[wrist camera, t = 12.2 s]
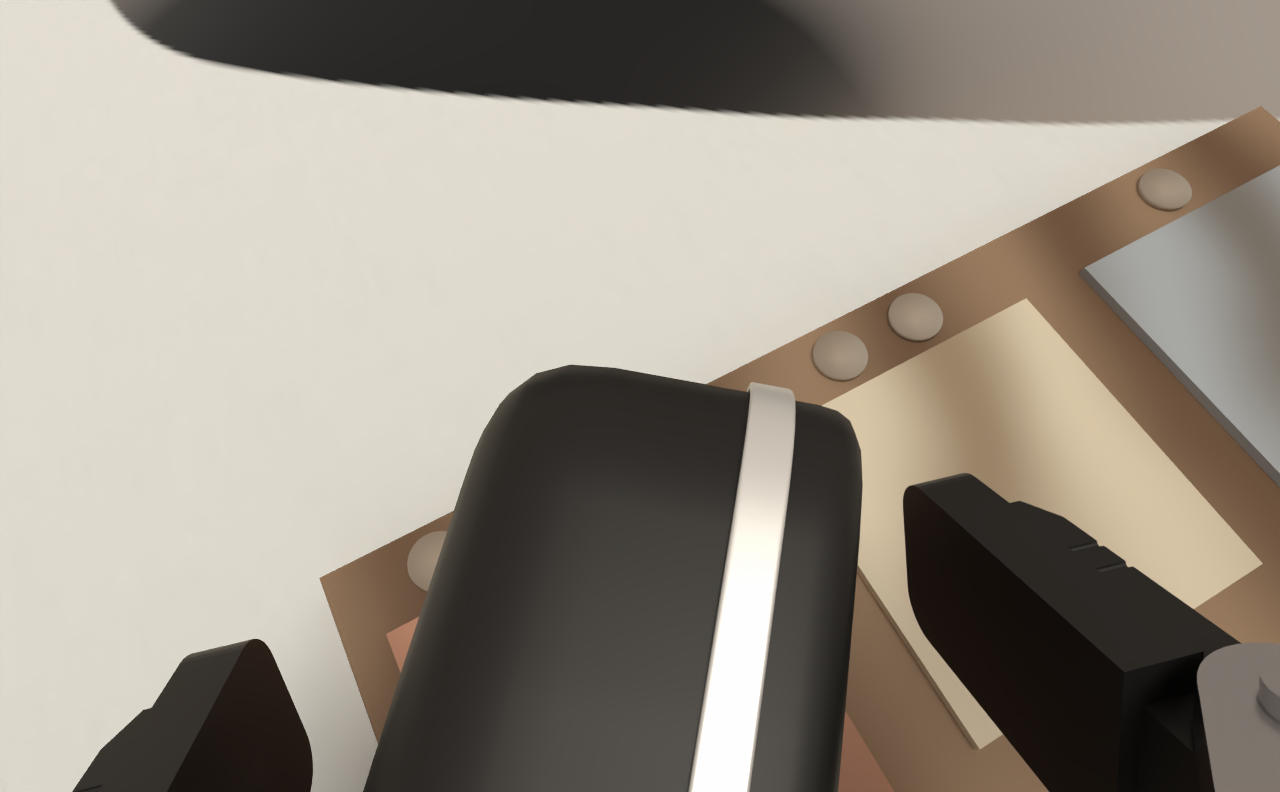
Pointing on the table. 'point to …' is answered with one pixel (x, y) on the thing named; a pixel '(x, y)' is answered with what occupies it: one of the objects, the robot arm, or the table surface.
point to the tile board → (1019, 436)
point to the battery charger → (637, 597)
